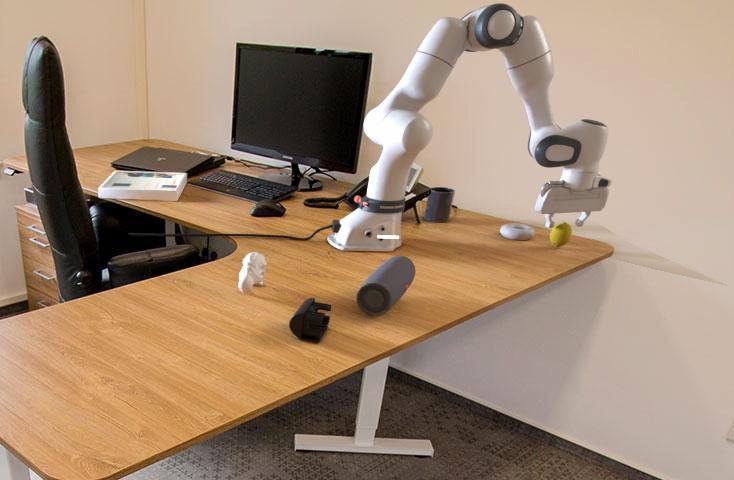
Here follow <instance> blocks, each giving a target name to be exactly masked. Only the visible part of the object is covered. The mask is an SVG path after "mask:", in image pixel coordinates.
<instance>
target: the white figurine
mask: <svg viewBox="0 0 734 480" xmlns="http://www.w3.org/2000/svg"><path fill="white" fill-rule="evenodd" d="M267 264H268V263H267V261H266V260H265V256H264V255H263V254H261V253H259V252H257V251H252V252H250V253H248V254H246V256H245V257H244V258H243V260H242V265H243V266H242V268H241V270H240V271H239V274H238V278H239V281H238V286H237V288H238V290H239V291H240V292H241V293H243V294H244V295H246V294H248V293H253V291H254V290H255V288H256V287H253V286H254V285H255V284H257V285H258V286H260V287H262V286H264V282H263V281H264V278H265V277H264V273H265V272H266V269H267Z"/></svg>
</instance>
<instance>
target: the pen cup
mask: <svg viewBox="0 0 734 480" xmlns="http://www.w3.org/2000/svg"><path fill="white" fill-rule="evenodd" d="M429 189H431V194H430V195H429V196H428V195H427V200H426V204H425V210H424V214H423V215H424V216H423V220H425V221H427V222H431V223H441V224H442V223H447V222H449V220H450V218H451V217H450V216H451V211H452V207H453V203H454V198H455V194H456V190H455V189H454V188H450V187H445V186H435V187H434V186H433V187H430V188H429Z"/></svg>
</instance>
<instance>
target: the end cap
mask: <svg viewBox="0 0 734 480" xmlns="http://www.w3.org/2000/svg"><path fill="white" fill-rule="evenodd" d="M320 311H325V312H320ZM326 312H332V304H329V303H325V302H319V301H316V297H309V298H306V299H304V300H303V302H302V303H301V304H300V306H299V307H298V308H297V309H296V311H294V313H293V315H292V316H291V317H290V319H289V322H288V327H289V330H290V332H291V333H292V334H293V335H294V336H295V337H296V338H297V339H298V340H300V341H303V342H309V343H315V344H319V343H320V342H321V341H322V339H323V338H324V336H325V334H326V332H327V331H328V329H329V324H330V319H331V316H330V315H326Z"/></svg>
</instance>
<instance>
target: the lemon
mask: <svg viewBox="0 0 734 480" xmlns="http://www.w3.org/2000/svg"><path fill="white" fill-rule="evenodd" d="M572 234H573V230H572V227H571V225H570V224H569V223H567V221H563V222H559V223H557V224H556V225H554V227H553V228H551V231H550V234H549V241H550V243H551V245H552V246H554V247H555V248H556V249H558V248H560V247H563V246H566V245H567V244H568V243H569V242H570V241H571V238H572Z"/></svg>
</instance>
